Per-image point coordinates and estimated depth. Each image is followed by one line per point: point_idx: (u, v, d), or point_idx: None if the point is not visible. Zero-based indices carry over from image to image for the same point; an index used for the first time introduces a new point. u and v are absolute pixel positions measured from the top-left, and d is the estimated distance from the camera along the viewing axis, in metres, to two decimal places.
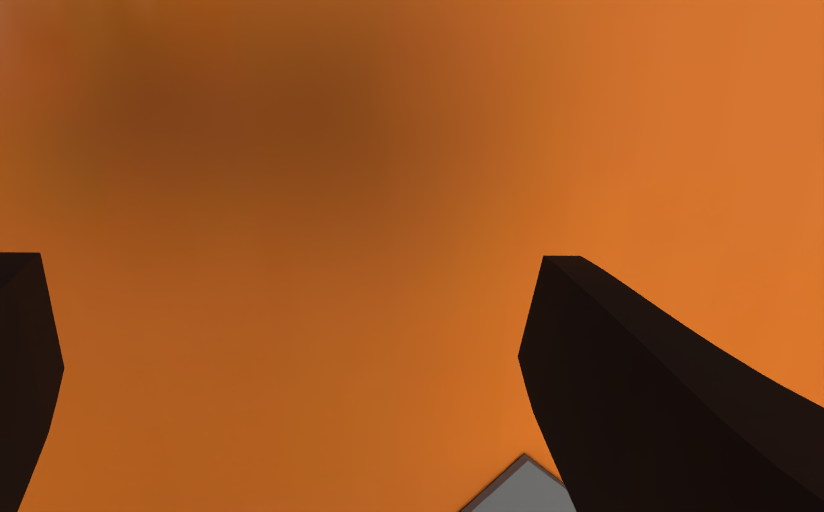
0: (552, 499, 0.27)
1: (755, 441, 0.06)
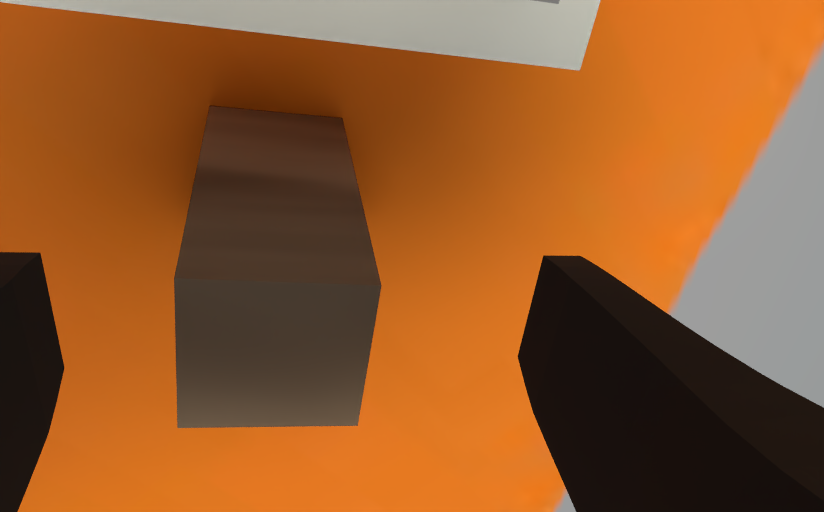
0: None
1: (754, 441, 0.06)
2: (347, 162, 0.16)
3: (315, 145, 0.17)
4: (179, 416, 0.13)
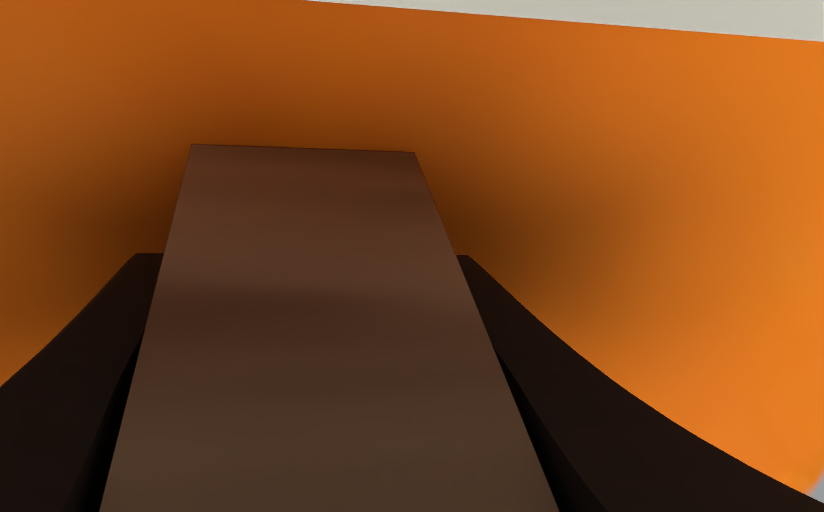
0: None
1: (577, 451, 0.06)
2: (442, 245, 0.09)
3: (379, 211, 0.09)
4: None
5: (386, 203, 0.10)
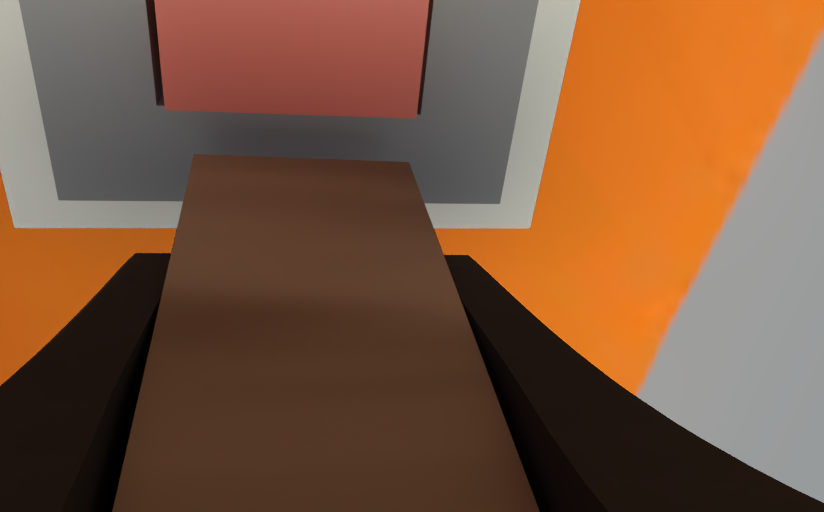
0: None
1: (578, 451, 0.06)
2: (434, 255, 0.09)
3: (374, 221, 0.10)
4: None
5: (381, 213, 0.10)
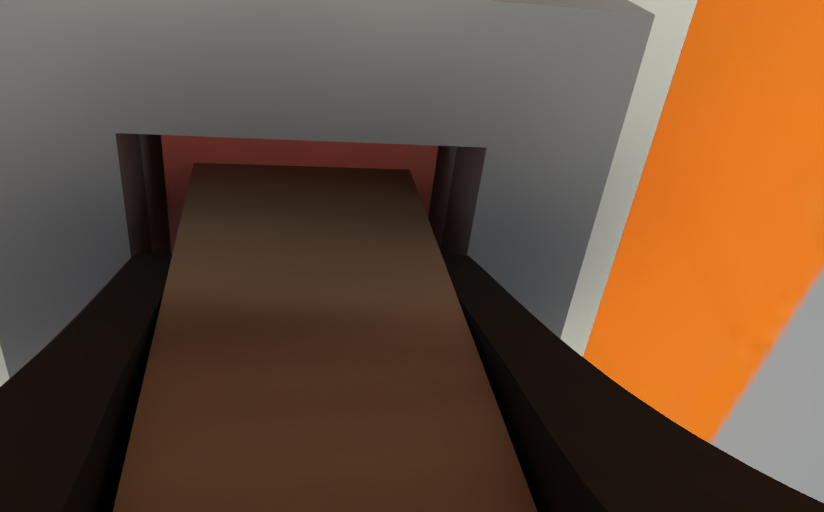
0: None
1: (577, 451, 0.06)
2: (435, 263, 0.09)
3: (375, 229, 0.10)
4: None
5: (382, 221, 0.10)
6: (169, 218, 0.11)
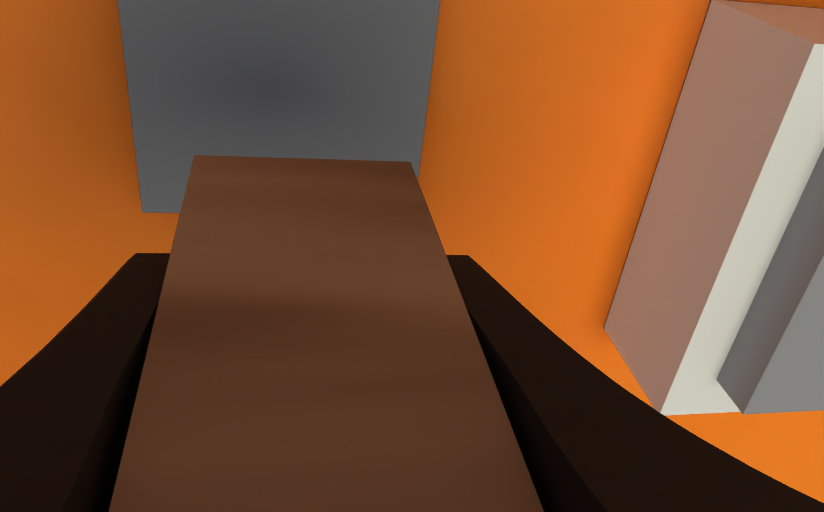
0: None
1: (576, 451, 0.06)
2: (436, 253, 0.09)
3: (376, 220, 0.10)
4: None
5: (382, 212, 0.10)
6: None
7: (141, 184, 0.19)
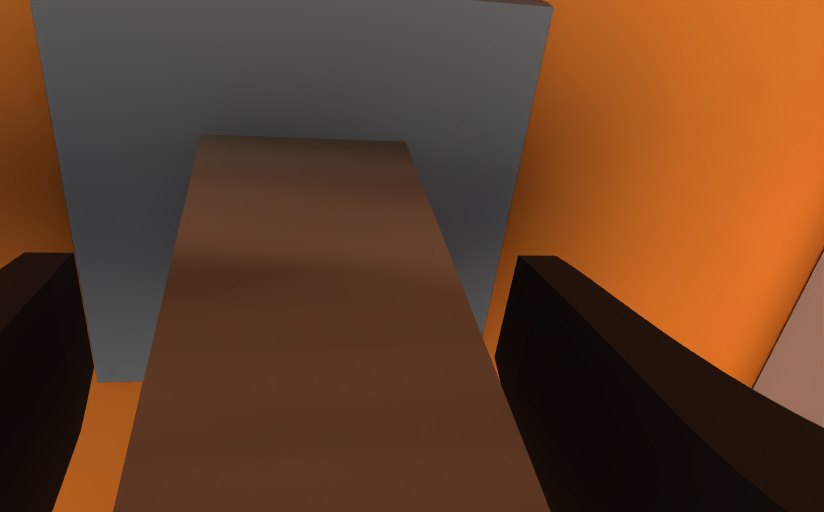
0: (194, 22, 0.10)
1: (717, 444, 0.06)
2: (428, 222, 0.10)
3: (372, 193, 0.10)
4: None
5: (379, 186, 0.10)
6: None
7: (95, 348, 0.13)
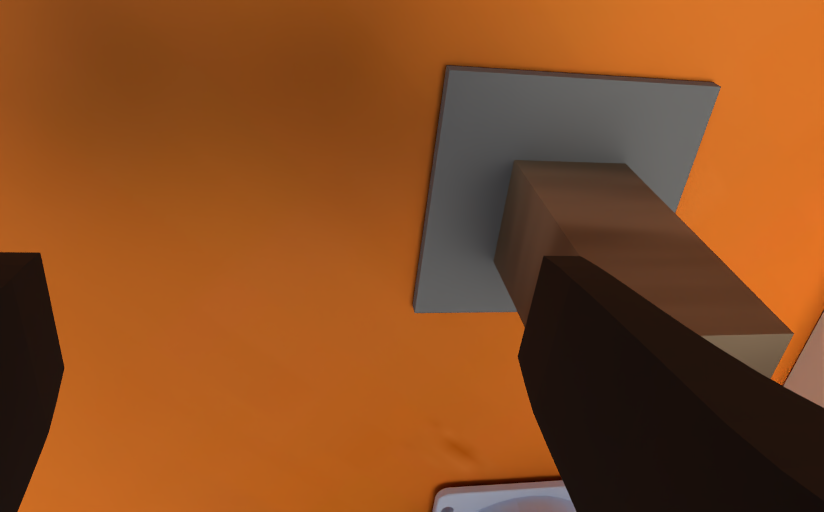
0: (527, 98, 0.19)
1: (755, 442, 0.06)
2: (667, 210, 0.18)
3: (629, 194, 0.18)
4: None
5: (629, 190, 0.19)
6: None
7: (420, 290, 0.22)
